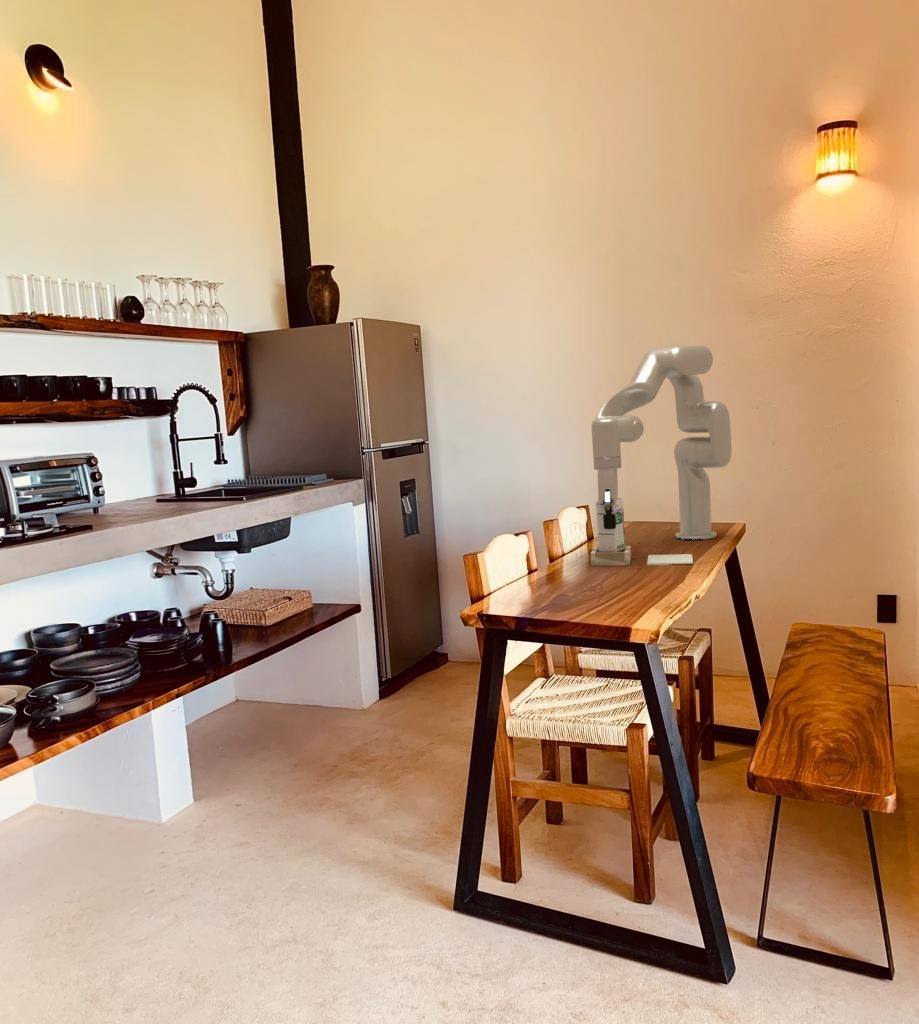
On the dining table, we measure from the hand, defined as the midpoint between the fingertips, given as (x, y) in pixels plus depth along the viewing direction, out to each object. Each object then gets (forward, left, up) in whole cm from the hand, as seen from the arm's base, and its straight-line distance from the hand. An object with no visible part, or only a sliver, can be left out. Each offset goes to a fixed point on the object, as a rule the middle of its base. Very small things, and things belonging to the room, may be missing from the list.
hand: (610, 525), depth 239 cm
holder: (0, 0, -10) cm, 10 cm away
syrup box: (0, 0, -7) cm, 7 cm away
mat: (0, +16, -10) cm, 19 cm away
